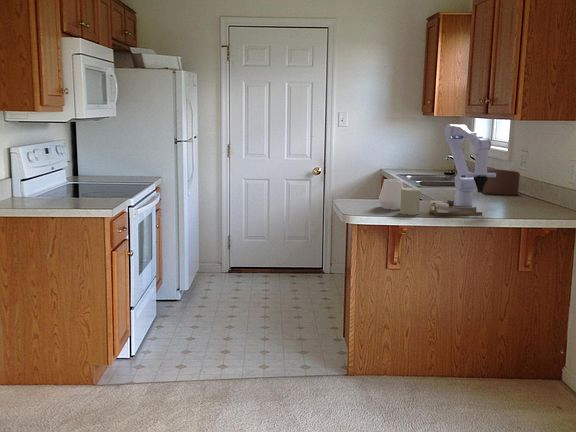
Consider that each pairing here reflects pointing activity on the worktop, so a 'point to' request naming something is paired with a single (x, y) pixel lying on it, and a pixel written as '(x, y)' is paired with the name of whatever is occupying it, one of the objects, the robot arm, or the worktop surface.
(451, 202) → the bolt
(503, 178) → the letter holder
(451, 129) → the robot arm
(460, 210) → the door board
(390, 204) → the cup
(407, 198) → the beige upright block
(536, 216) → the worktop surface
